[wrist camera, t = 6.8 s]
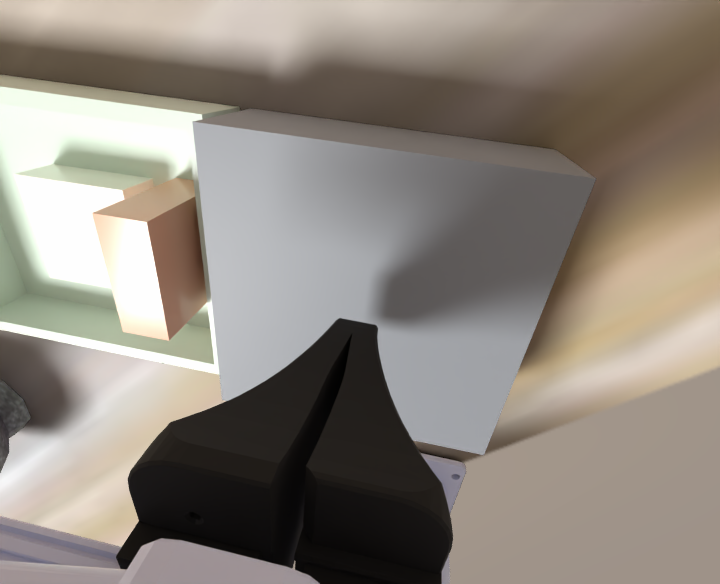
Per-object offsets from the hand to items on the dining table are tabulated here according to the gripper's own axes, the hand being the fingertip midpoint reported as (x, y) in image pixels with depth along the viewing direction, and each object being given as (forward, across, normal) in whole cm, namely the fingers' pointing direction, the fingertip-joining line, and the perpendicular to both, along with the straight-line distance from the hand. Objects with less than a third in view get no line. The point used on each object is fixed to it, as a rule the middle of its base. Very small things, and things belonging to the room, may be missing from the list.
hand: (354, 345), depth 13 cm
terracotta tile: (+3, +8, 0) cm, 8 cm away
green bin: (+6, +14, 0) cm, 15 cm away
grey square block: (+6, 0, 0) cm, 6 cm away
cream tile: (+4, +13, 0) cm, 14 cm away
